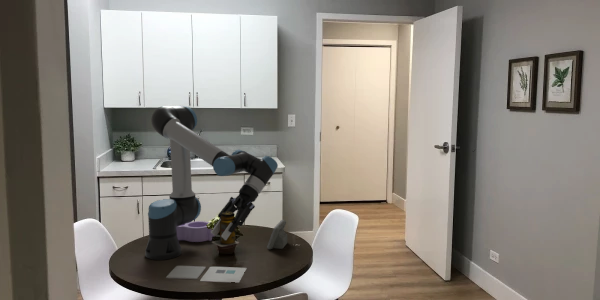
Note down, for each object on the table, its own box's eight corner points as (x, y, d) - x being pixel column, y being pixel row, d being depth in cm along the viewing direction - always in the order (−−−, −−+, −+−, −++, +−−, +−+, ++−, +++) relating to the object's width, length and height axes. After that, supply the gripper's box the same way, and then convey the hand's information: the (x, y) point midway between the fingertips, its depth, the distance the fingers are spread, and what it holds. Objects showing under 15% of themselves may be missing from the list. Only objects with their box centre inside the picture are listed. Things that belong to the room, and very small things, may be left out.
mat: (166, 278, 180) (166, 276, 180) (177, 266, 192) (177, 265, 192) (197, 279, 179) (197, 278, 179) (205, 267, 191) (205, 266, 191)
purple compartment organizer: (168, 241, 225) (168, 227, 224) (175, 234, 237) (175, 220, 236) (210, 242, 225) (210, 228, 224) (215, 234, 237) (215, 221, 236)
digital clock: (276, 239, 230) (276, 218, 229) (293, 241, 226) (293, 220, 225) (260, 249, 215) (260, 226, 214) (278, 251, 212) (278, 228, 210)
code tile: (199, 282, 177) (199, 280, 177) (210, 267, 192) (210, 266, 192) (239, 283, 176) (239, 282, 176) (246, 269, 191) (246, 267, 191)
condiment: (239, 243, 186) (240, 213, 184) (221, 247, 180) (221, 216, 178) (229, 238, 191) (229, 209, 189) (211, 242, 185) (211, 213, 184)
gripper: (271, 198, 187) (238, 247, 178) (242, 191, 201) (209, 235, 191) (261, 187, 183) (227, 236, 173) (232, 180, 196) (198, 225, 187)
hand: (218, 236), depth 182 cm, fingers closed on condiment, 6 cm apart
